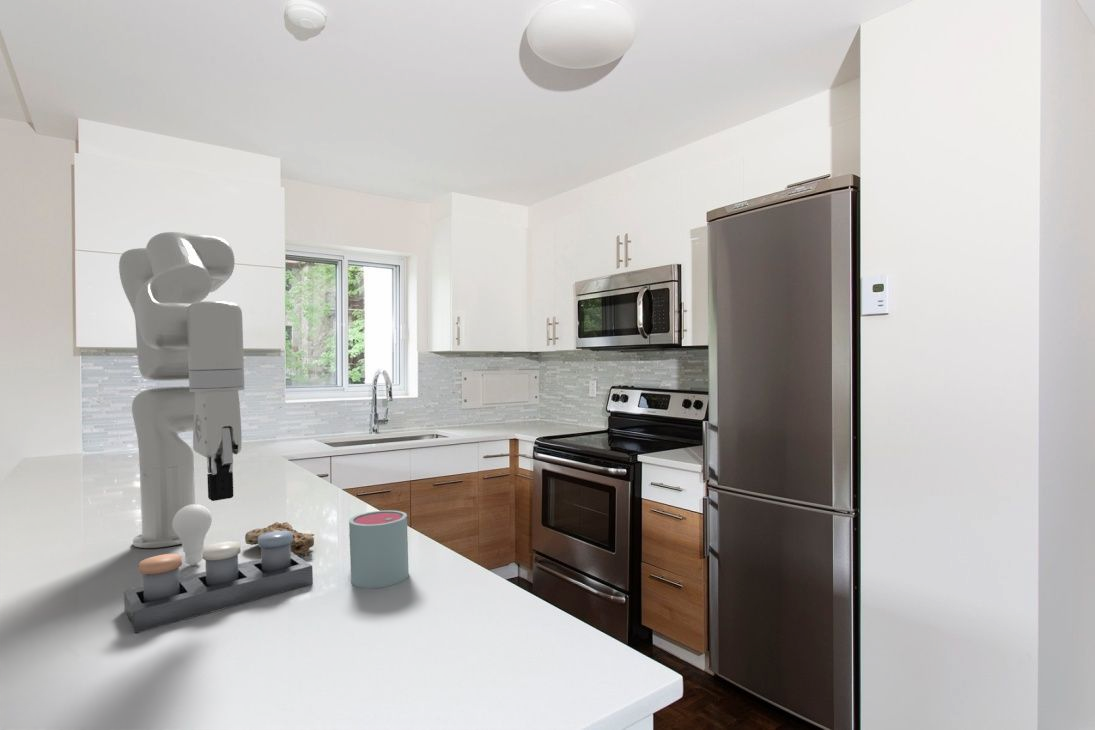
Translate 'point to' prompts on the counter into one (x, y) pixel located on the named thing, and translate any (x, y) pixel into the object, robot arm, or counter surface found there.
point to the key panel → (214, 593)
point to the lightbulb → (192, 530)
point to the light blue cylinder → (275, 550)
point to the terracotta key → (160, 576)
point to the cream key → (221, 562)
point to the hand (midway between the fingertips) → (220, 498)
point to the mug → (378, 548)
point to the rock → (300, 540)
